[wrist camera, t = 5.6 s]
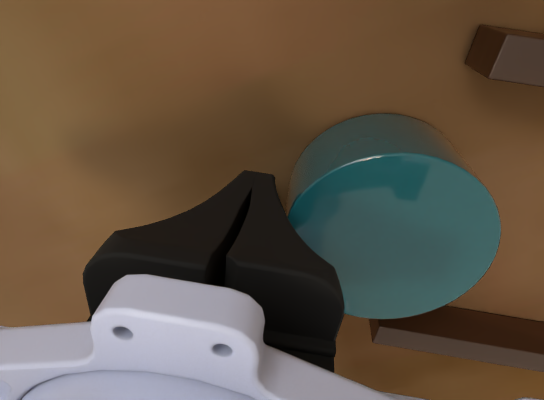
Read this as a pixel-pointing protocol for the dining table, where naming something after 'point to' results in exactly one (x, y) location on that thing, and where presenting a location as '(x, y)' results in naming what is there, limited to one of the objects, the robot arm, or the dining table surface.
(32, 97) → the dining table surface
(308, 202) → the teal puck
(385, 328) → the walnut bay
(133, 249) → the robot arm
